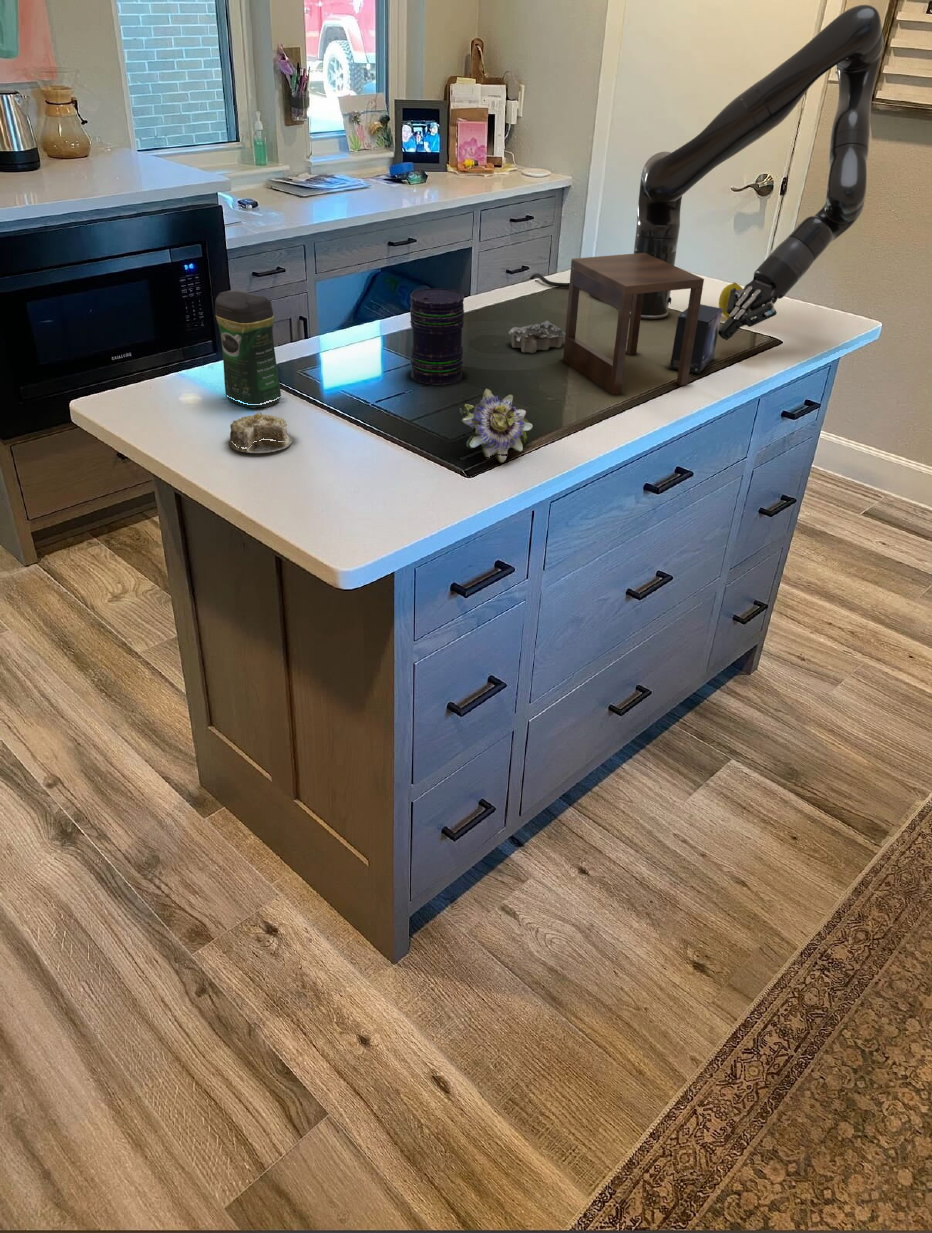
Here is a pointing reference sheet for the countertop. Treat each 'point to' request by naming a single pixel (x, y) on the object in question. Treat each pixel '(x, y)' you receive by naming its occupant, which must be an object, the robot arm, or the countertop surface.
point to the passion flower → (496, 425)
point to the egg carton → (537, 337)
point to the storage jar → (436, 335)
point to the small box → (698, 338)
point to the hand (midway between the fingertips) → (721, 336)
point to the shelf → (625, 310)
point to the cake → (259, 434)
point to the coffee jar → (248, 348)
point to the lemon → (727, 297)
